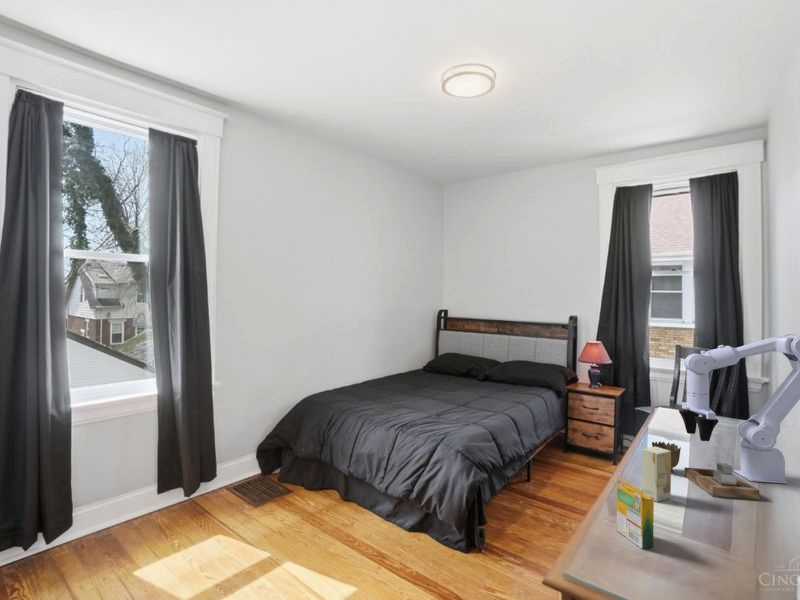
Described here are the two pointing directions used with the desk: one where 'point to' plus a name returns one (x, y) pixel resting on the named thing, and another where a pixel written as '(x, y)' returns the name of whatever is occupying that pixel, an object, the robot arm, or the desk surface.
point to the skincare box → (656, 473)
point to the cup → (674, 452)
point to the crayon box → (635, 514)
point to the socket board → (713, 488)
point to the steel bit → (724, 475)
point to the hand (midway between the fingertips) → (697, 437)
